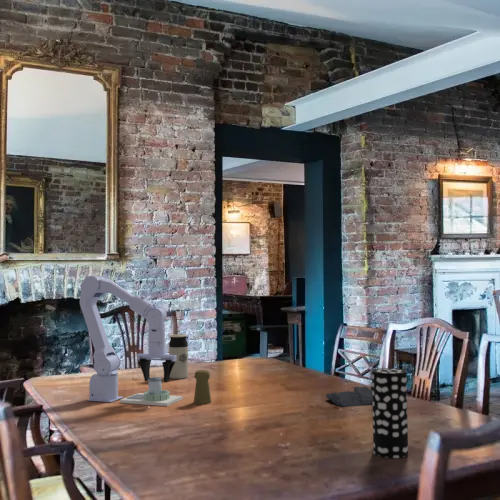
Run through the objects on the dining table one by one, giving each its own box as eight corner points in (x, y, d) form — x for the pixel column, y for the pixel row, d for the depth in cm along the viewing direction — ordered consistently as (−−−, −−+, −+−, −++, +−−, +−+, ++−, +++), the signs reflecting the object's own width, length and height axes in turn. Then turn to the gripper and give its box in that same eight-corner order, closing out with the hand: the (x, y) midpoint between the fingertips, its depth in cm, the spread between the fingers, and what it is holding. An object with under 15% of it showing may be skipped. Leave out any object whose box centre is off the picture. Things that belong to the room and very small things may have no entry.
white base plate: (120, 402, 208) (120, 394, 209) (137, 395, 220) (137, 387, 220) (166, 406, 202) (166, 397, 203) (182, 399, 214) (182, 390, 214)
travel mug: (166, 376, 259) (166, 334, 260) (184, 375, 263) (184, 333, 263) (172, 379, 252) (172, 336, 253) (190, 378, 256) (190, 335, 256)
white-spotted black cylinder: (369, 448, 152) (367, 368, 153) (401, 447, 153) (400, 367, 153) (379, 458, 144) (377, 374, 144) (413, 457, 144) (411, 373, 145)
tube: (145, 399, 208) (145, 379, 209) (153, 396, 213) (152, 376, 213) (157, 400, 207) (157, 380, 207) (164, 397, 211) (164, 377, 211)
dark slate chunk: (320, 400, 212) (320, 386, 212) (376, 395, 219) (376, 382, 219) (340, 409, 198) (340, 394, 198) (399, 404, 204) (399, 390, 205)
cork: (208, 404, 204) (208, 371, 205) (191, 404, 205) (191, 371, 206) (213, 400, 210) (213, 369, 211) (196, 400, 211) (196, 368, 212)
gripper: (132, 342, 210) (132, 382, 209) (169, 344, 205) (170, 384, 204) (142, 340, 216) (142, 378, 216) (179, 341, 212) (179, 380, 211)
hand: (156, 381), depth 211 cm, fingers open, 7 cm apart
